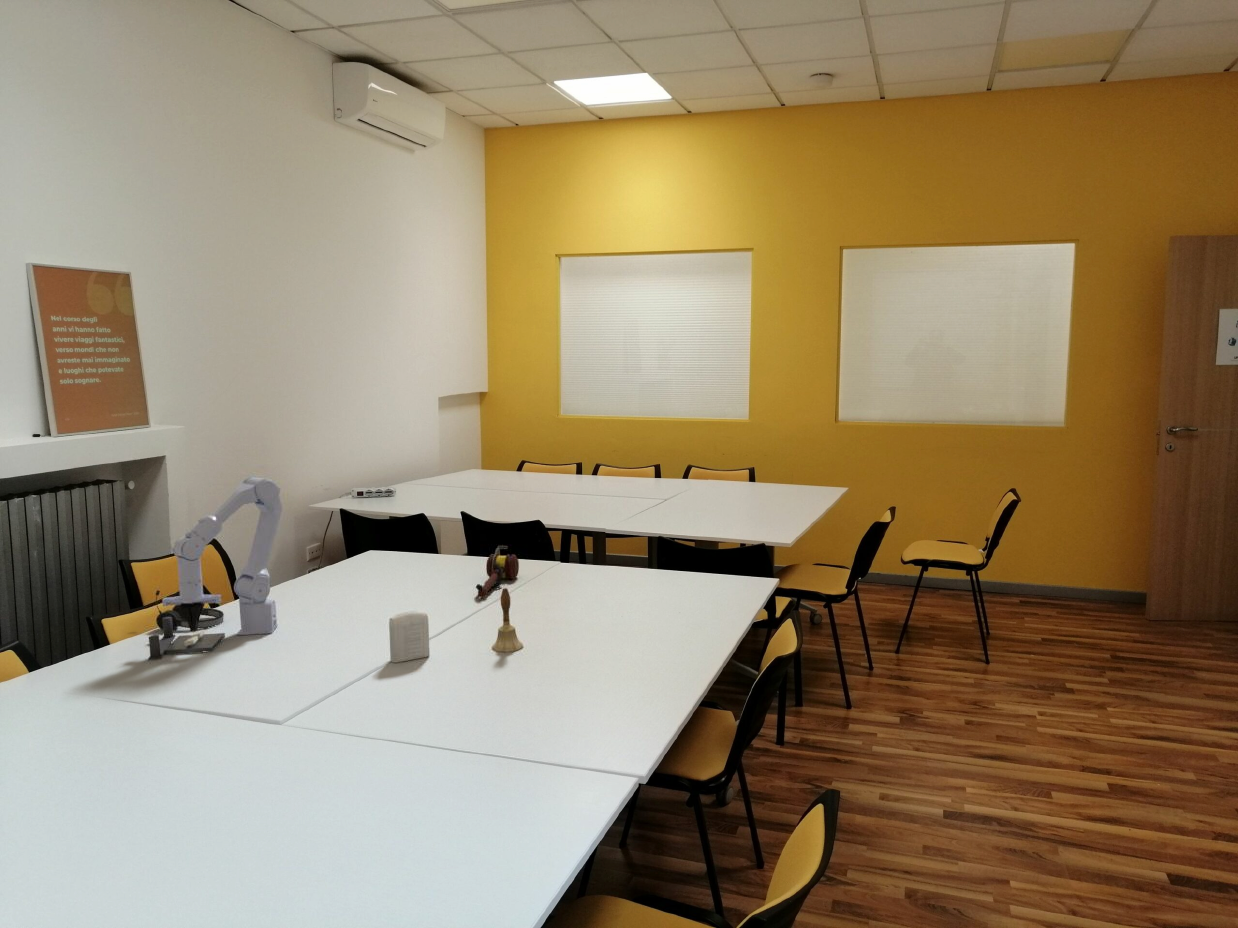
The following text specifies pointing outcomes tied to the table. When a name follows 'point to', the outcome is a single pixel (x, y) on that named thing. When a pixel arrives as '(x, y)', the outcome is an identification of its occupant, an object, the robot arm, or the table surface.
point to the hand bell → (506, 629)
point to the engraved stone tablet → (409, 636)
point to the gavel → (498, 570)
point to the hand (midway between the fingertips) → (194, 629)
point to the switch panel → (202, 644)
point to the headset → (181, 621)
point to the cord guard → (159, 647)
